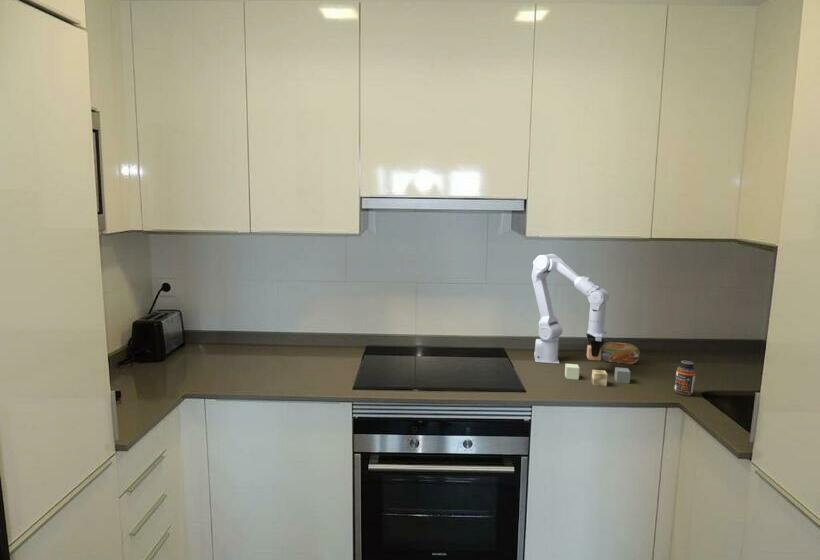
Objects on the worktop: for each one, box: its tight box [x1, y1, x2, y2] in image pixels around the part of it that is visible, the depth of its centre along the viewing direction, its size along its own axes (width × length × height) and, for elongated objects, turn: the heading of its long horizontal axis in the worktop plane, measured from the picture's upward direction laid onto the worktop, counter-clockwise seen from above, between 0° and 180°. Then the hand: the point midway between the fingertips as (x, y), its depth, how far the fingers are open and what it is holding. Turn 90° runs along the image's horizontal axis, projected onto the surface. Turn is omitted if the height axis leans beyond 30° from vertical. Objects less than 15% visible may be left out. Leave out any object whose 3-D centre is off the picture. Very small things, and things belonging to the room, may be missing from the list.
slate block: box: [613, 366, 631, 384], centre depth 197 cm, size 4×4×4 cm
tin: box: [601, 341, 641, 365], centre depth 219 cm, size 15×3×8 cm, turn 72°
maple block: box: [590, 369, 608, 387], centre depth 193 cm, size 4×4×4 cm
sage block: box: [564, 363, 580, 381], centre depth 199 cm, size 4×4×4 cm
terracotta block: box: [586, 344, 602, 361], centre depth 206 cm, size 4×4×4 cm
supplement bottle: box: [674, 360, 697, 397], centre depth 185 cm, size 6×6×11 cm
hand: (593, 354), depth 206 cm, fingers closed on terracotta block, 4 cm apart
